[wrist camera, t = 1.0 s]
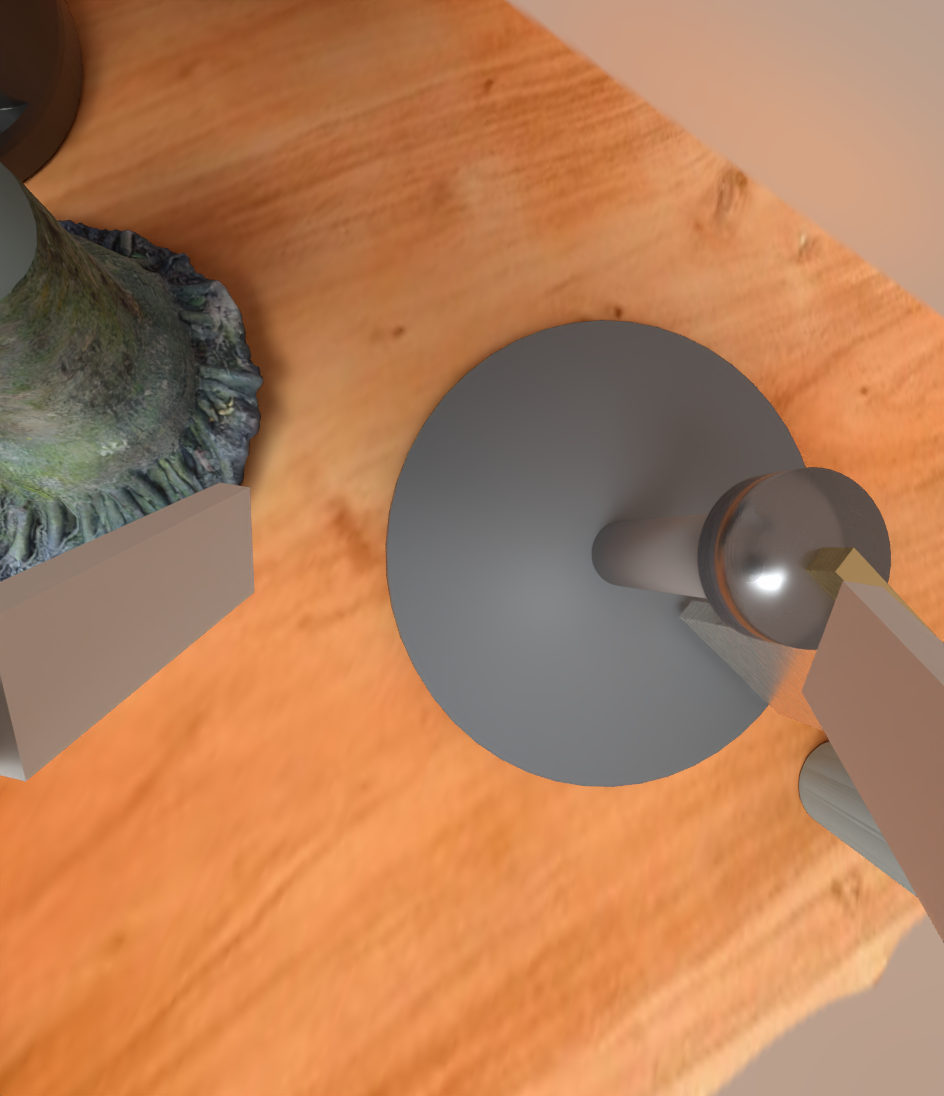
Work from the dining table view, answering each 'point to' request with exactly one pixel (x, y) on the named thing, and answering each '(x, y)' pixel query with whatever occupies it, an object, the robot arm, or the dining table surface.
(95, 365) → the tree stump
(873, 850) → the cup
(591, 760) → the stand
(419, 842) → the dining table surface
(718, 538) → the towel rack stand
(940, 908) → the robot arm
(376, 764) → the dining table surface
